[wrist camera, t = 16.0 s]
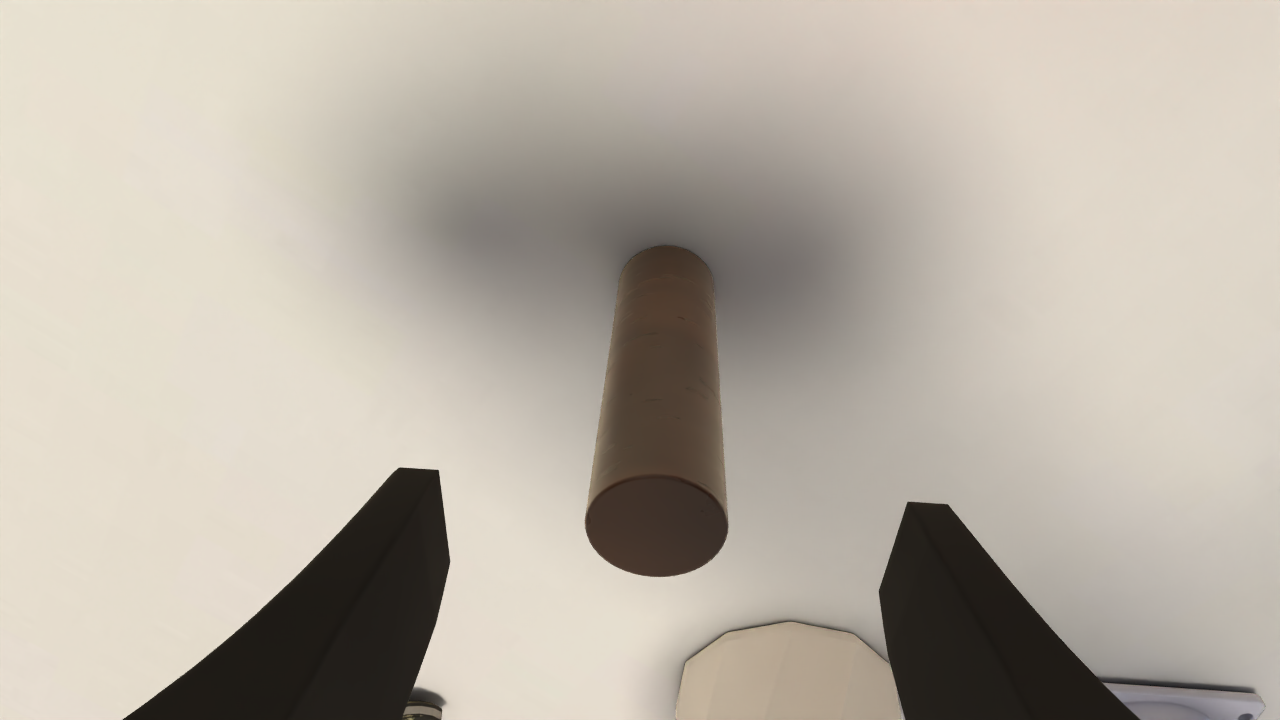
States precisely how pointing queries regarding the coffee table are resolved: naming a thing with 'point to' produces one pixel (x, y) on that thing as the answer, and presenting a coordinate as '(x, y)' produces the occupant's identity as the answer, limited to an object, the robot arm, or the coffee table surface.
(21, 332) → the coffee table surface
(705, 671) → the vase
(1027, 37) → the coffee table surface
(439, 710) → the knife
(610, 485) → the brown cylinder
